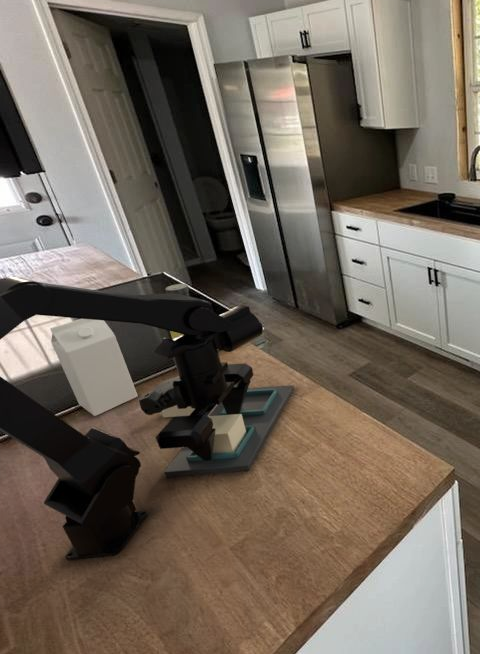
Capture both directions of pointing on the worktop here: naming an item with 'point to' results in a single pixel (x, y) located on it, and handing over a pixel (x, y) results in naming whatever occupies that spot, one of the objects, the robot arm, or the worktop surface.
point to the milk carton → (93, 364)
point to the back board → (259, 421)
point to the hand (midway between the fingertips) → (221, 439)
